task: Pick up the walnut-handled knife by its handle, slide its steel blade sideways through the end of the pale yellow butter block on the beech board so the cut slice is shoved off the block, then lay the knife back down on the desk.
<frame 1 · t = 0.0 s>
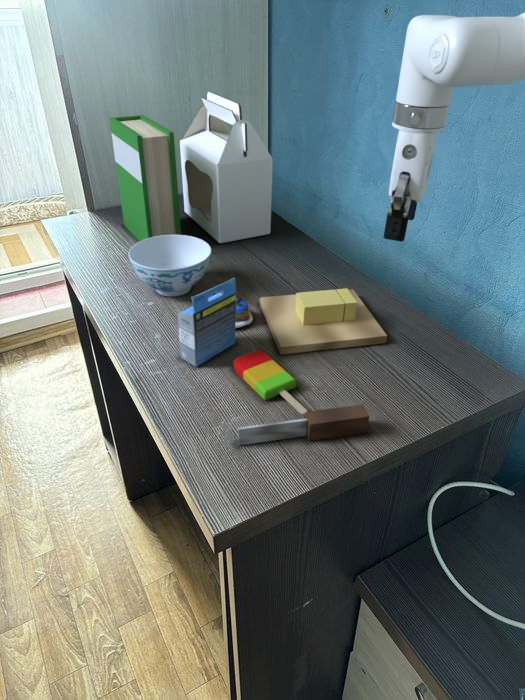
hand: (399, 228, 85), 16 cm above the table, tool pointing down, fingers open, 9 cm apart
popsicle: (273, 389, 76), on the table
gable box: (225, 223, 127), on the table
butter slice: (344, 313, 90), point 1 cm above the table, touching cutting board
butter block: (318, 315, 89), resting on cutting board
cutting board: (319, 322, 90), on the table
hardback book: (152, 236, 120), on the table
dessert: (230, 319, 91), on the table
label tape box: (209, 352, 83), on the table
chinaware: (173, 288, 100), on the table
knife: (334, 430, 69), on the table
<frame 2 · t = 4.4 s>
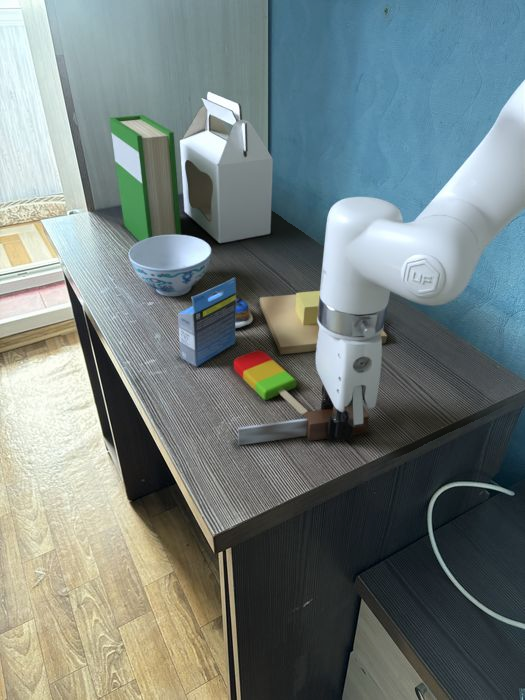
hand: (334, 429, 69), 0 cm above the table, tool pointing down, fingers closed on knife, 2 cm apart
knife: (334, 430, 69), on the table, touching gripper
everything else where it was.
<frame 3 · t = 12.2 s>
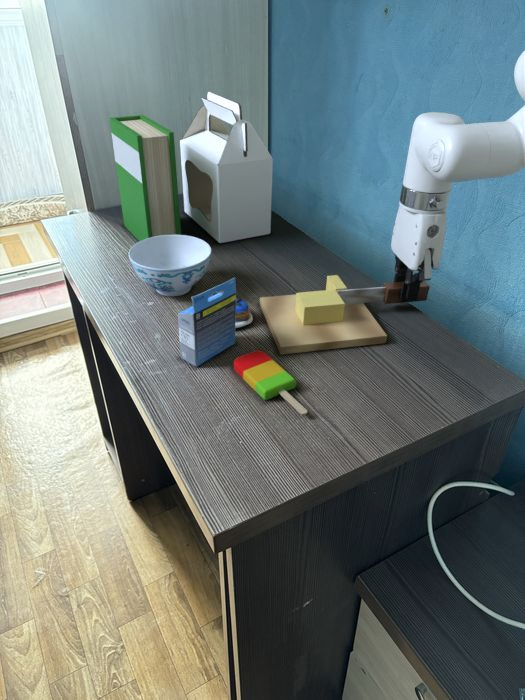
hand: (404, 296, 94), 2 cm above the table, tool pointing down, fingers closed on knife, 2 cm apart
butter slice: (334, 298, 94), point 1 cm above the table, touching cutting board, knife
knife: (403, 299, 94), point 2 cm above the table, touching butter slice, gripper
everything else where it was.
when the fingers open (1 cm above the table, at t = 19.8 s): knife stays where it is, on the table.
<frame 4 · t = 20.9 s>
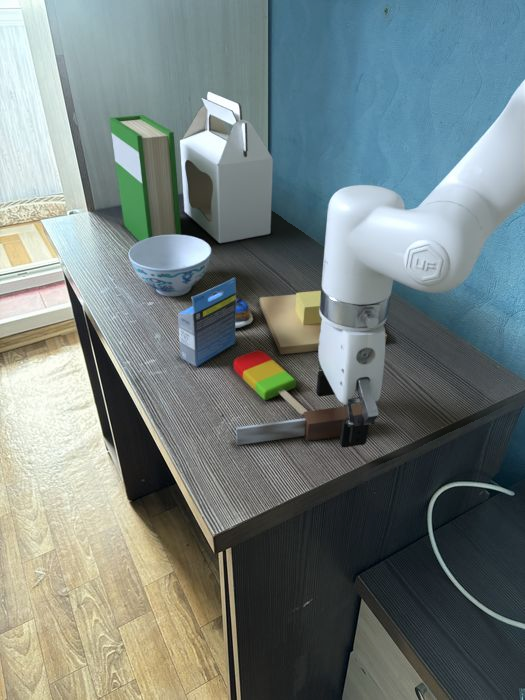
hand: (339, 417, 67), 3 cm above the table, tool pointing down, fingers open, 9 cm apart
butter slice: (334, 298, 94), point 1 cm above the table, touching cutting board
knife: (333, 430, 69), on the table
everything else where it was.
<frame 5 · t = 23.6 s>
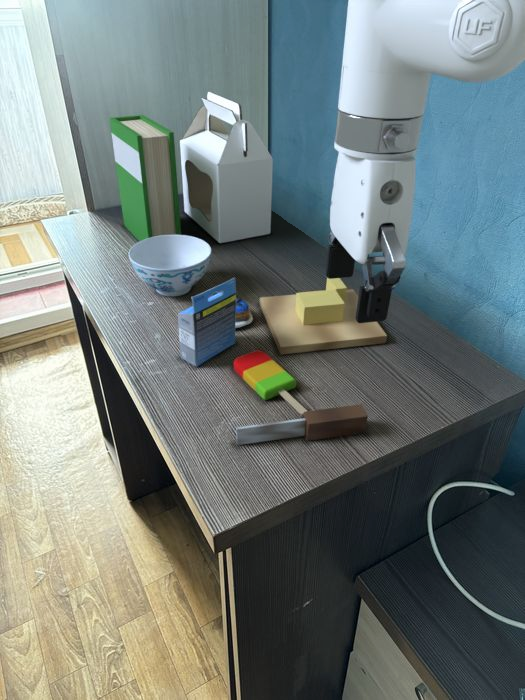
hand: (353, 297, 57), 20 cm above the table, tool pointing down, fingers open, 9 cm apart
nothing on the table moved.
at the end: butter slice moved 5.1 cm from its start; butter slice 0.9 cm from the target spot on the table beside the butter block, resting on cutting board; knife on the table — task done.
